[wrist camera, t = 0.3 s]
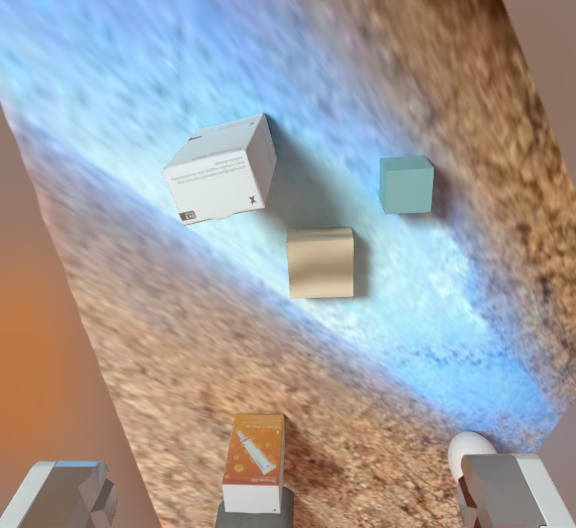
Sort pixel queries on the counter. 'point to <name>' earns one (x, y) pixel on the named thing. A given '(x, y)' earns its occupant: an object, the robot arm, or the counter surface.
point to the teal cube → (406, 184)
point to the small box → (255, 464)
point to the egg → (466, 450)
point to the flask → (259, 516)
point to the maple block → (320, 262)
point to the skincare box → (222, 170)
